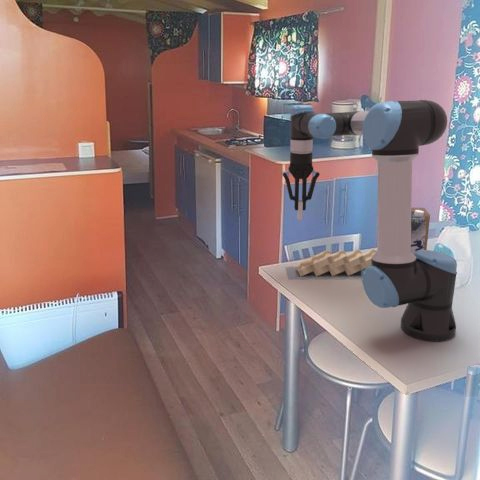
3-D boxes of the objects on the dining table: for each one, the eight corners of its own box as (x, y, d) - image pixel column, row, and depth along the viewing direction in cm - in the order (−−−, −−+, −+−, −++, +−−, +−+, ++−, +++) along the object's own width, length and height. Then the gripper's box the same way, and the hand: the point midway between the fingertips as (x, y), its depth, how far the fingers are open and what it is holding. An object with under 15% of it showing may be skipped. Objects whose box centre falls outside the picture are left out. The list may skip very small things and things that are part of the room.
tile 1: (300, 276, 200) (334, 261, 199) (298, 270, 200) (331, 255, 198) (298, 269, 207) (331, 254, 205) (295, 264, 206) (328, 249, 205)
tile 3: (332, 276, 200) (365, 261, 199) (329, 270, 200) (363, 255, 198) (329, 269, 207) (361, 254, 205) (326, 263, 206) (359, 248, 205)
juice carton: (392, 291, 189) (399, 213, 180) (392, 279, 198) (398, 205, 190) (420, 293, 187) (428, 215, 178) (418, 281, 196) (426, 207, 188)
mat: (378, 279, 198) (378, 278, 198) (288, 280, 198) (288, 279, 198) (370, 267, 210) (370, 266, 210) (285, 268, 209) (285, 267, 209)
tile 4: (348, 276, 200) (381, 260, 199) (345, 270, 200) (379, 255, 198) (344, 268, 207) (377, 254, 205) (341, 263, 206) (374, 248, 205)
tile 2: (316, 276, 200) (349, 261, 199) (313, 270, 200) (347, 255, 198) (313, 269, 207) (346, 254, 205) (310, 264, 206) (343, 249, 205)
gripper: (318, 150, 194) (316, 216, 201) (281, 150, 193) (280, 216, 200) (322, 153, 186) (319, 221, 193) (283, 153, 186) (282, 222, 193)
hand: (299, 219), depth 197 cm, fingers closed
